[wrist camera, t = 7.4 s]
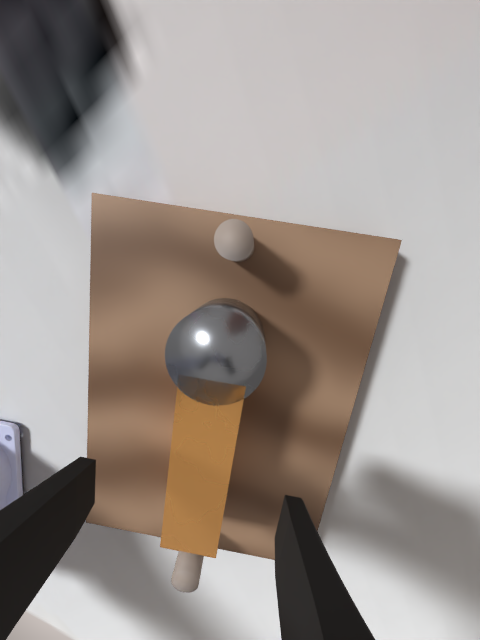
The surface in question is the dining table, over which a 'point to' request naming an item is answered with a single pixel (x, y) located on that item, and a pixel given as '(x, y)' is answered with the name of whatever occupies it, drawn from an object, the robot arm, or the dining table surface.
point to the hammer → (207, 416)
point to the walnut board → (281, 348)
